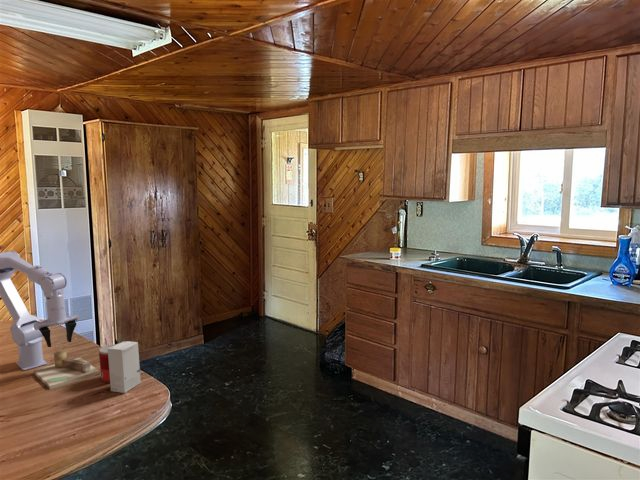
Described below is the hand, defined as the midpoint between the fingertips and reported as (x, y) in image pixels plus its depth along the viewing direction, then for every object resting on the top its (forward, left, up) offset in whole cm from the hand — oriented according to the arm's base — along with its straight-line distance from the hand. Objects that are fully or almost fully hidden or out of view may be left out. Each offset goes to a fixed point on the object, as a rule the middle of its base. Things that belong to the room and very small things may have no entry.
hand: (59, 343), depth 169 cm
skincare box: (+31, +10, -10) cm, 34 cm away
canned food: (+21, +10, -10) cm, 25 cm away
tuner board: (+5, 0, -10) cm, 11 cm away
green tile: (+11, -4, -9) cm, 14 cm away
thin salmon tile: (+11, +4, -9) cm, 14 cm away
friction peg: (+5, +2, -8) cm, 10 cm away
